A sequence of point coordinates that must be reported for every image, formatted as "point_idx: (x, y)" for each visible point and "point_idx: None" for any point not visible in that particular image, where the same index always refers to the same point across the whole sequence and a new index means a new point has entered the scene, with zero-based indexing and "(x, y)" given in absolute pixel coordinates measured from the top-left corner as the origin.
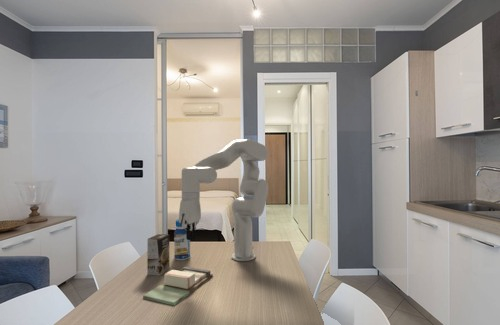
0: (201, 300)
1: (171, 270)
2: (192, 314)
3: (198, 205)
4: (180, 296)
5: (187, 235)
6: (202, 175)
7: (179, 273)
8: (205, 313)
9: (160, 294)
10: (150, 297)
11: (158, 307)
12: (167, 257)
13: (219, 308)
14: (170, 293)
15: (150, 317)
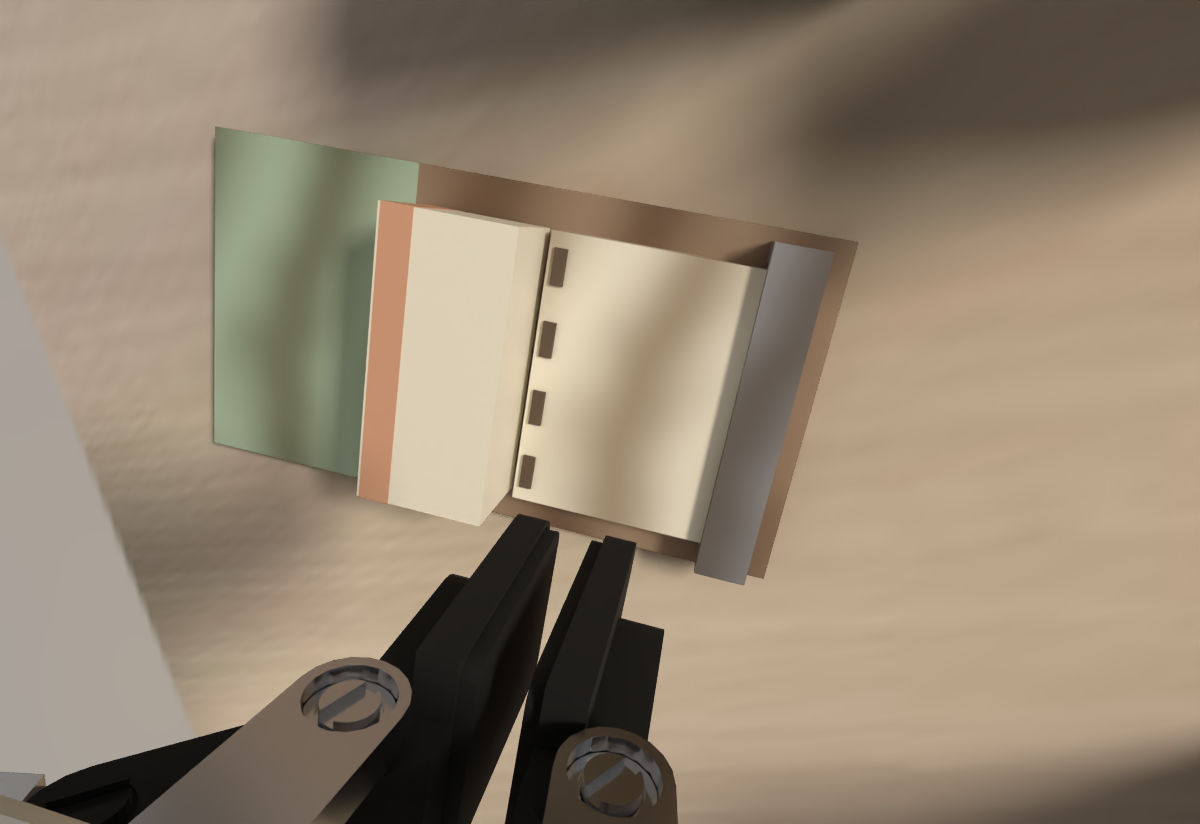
0: (342, 589)
1: (491, 229)
2: (188, 583)
3: None
4: (297, 448)
5: (429, 613)
6: None
7: (439, 366)
8: (221, 651)
9: (274, 273)
10: (216, 212)
11: (174, 337)
12: None
13: None
14: (314, 347)
15: (72, 349)
